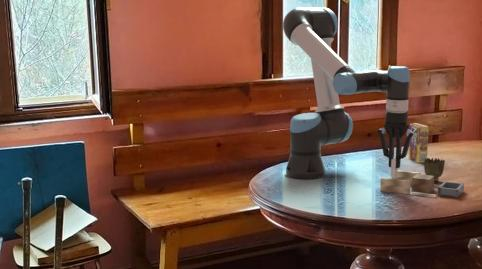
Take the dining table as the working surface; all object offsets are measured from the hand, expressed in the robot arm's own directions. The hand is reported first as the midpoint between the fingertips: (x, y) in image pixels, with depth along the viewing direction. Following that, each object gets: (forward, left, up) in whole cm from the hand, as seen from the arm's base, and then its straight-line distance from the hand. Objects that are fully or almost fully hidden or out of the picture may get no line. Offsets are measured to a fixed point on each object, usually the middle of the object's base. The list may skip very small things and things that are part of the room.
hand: (393, 176), depth 222 cm
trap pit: (+20, 0, -4) cm, 20 cm away
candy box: (-3, +44, -4) cm, 44 cm away
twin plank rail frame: (+7, 0, -4) cm, 8 cm away
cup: (+11, +14, -4) cm, 18 cm away
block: (+10, 0, -4) cm, 11 cm away
